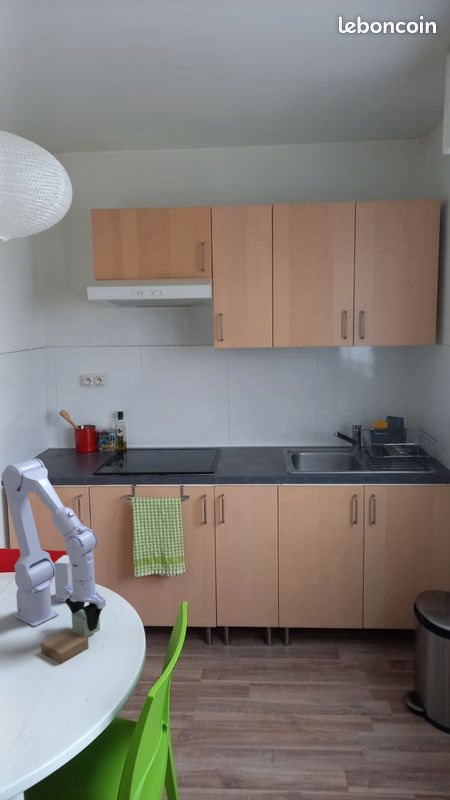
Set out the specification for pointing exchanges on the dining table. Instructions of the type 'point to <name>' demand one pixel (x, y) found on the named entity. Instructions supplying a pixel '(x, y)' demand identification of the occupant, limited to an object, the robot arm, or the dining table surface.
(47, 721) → the dining table surface
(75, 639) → the walnut block
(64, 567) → the skincare box
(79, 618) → the sage cube
